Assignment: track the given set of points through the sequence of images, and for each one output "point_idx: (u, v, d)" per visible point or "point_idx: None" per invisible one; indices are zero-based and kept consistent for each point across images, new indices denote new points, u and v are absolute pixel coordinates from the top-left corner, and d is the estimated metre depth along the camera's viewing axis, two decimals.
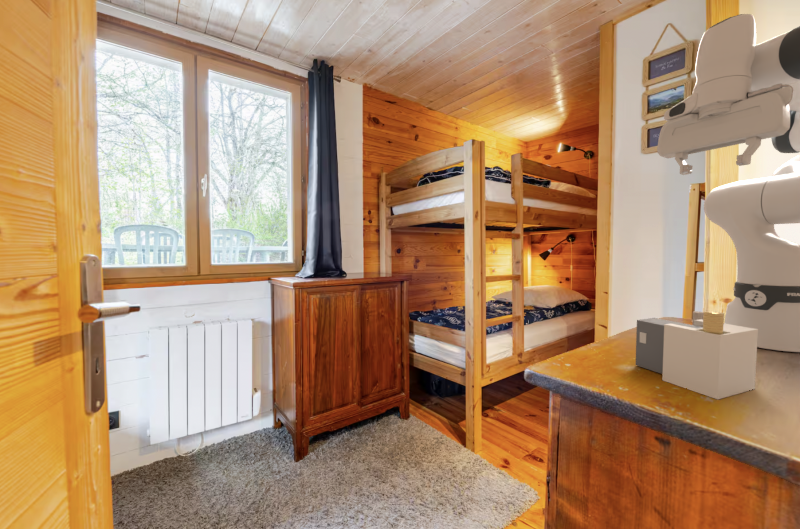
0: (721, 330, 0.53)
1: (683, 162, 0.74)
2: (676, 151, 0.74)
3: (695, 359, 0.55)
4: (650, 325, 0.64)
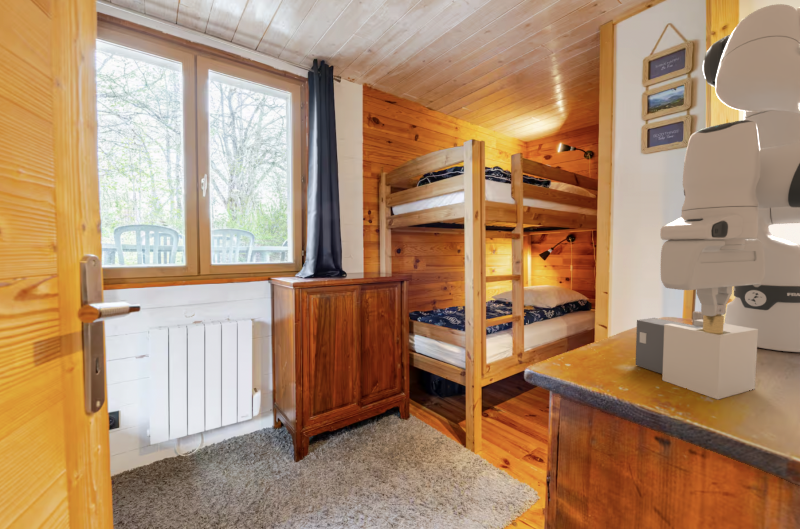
0: (721, 332, 0.53)
1: None
2: (703, 287, 0.50)
3: (695, 359, 0.55)
4: (650, 325, 0.64)
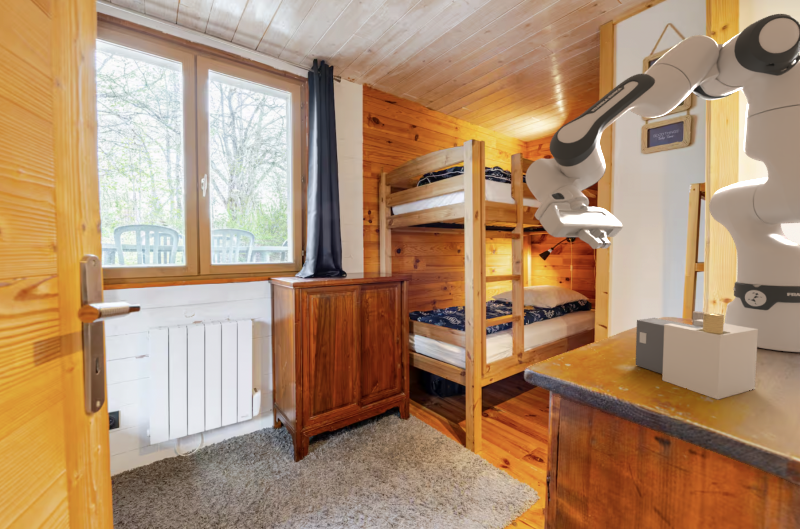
0: (721, 332, 0.53)
1: None
2: (574, 225, 0.75)
3: (695, 359, 0.55)
4: (650, 325, 0.64)
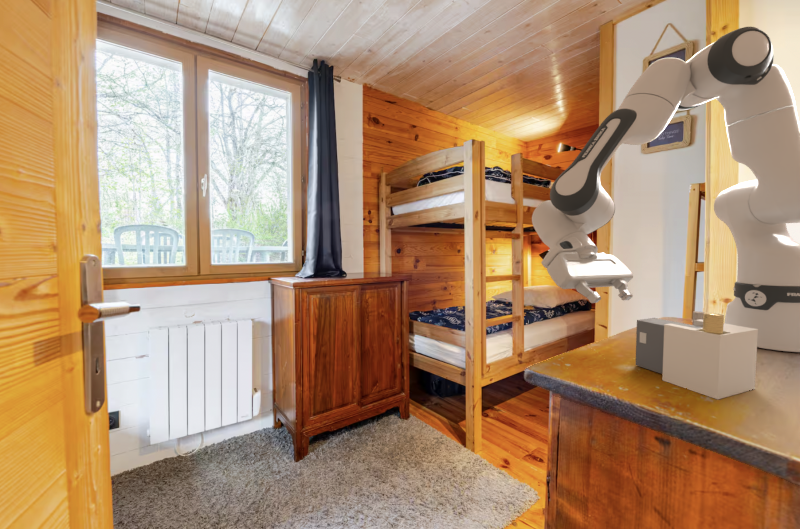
0: (721, 332, 0.53)
1: None
2: (583, 278, 0.72)
3: (695, 359, 0.55)
4: (650, 325, 0.64)
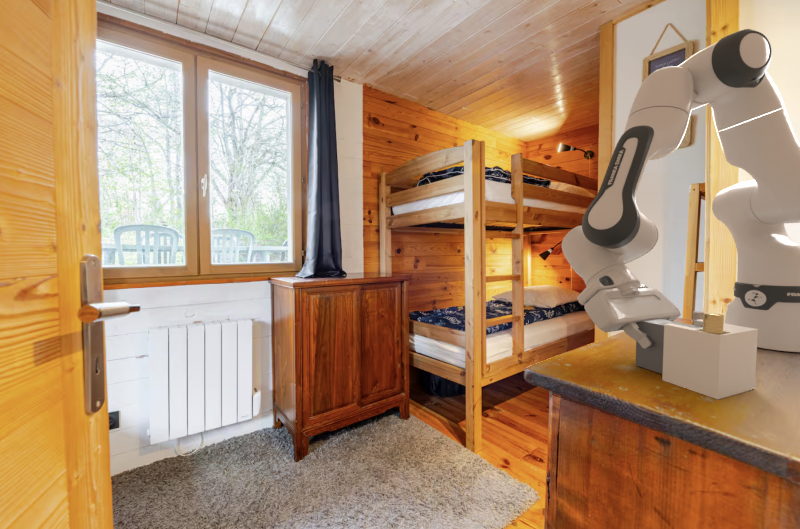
0: (721, 332, 0.53)
1: None
2: (628, 320, 0.64)
3: (695, 359, 0.55)
4: (650, 325, 0.64)
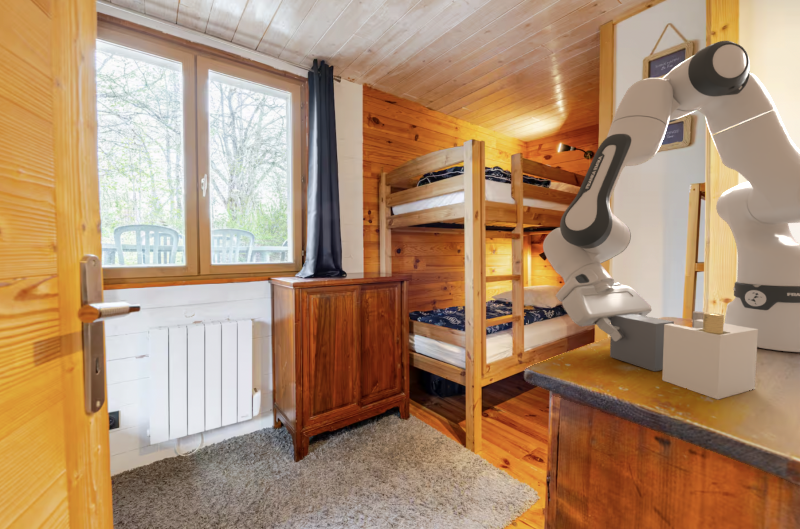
0: (721, 332, 0.53)
1: None
2: (601, 315, 0.69)
3: (695, 359, 0.55)
4: (622, 319, 0.69)
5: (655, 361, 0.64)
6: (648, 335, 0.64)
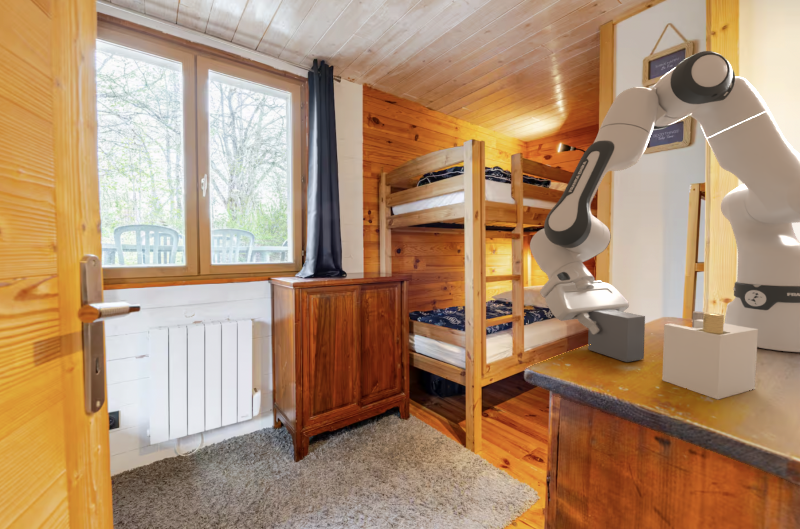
0: (721, 332, 0.53)
1: None
2: (580, 310, 0.74)
3: (695, 359, 0.55)
4: (599, 314, 0.74)
5: (627, 352, 0.69)
6: (621, 329, 0.70)
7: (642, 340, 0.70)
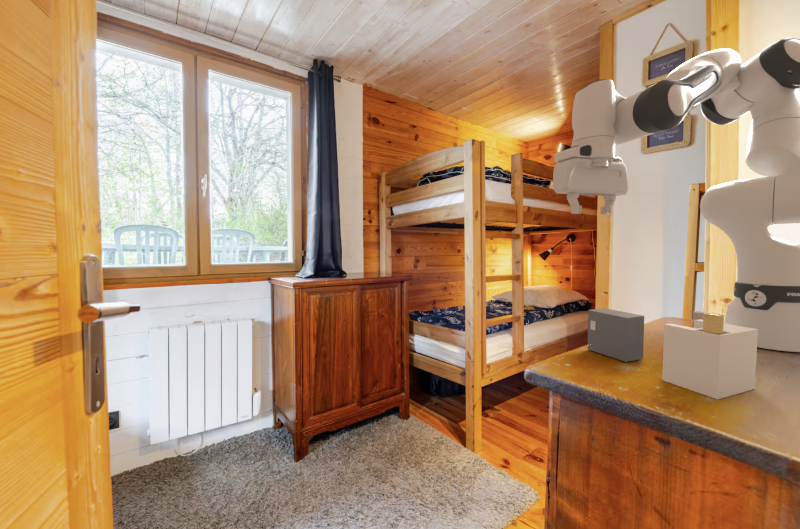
0: (721, 332, 0.53)
1: None
2: (578, 191, 0.76)
3: (695, 359, 0.55)
4: (598, 314, 0.74)
5: (626, 352, 0.69)
6: (620, 329, 0.70)
7: (641, 340, 0.70)
